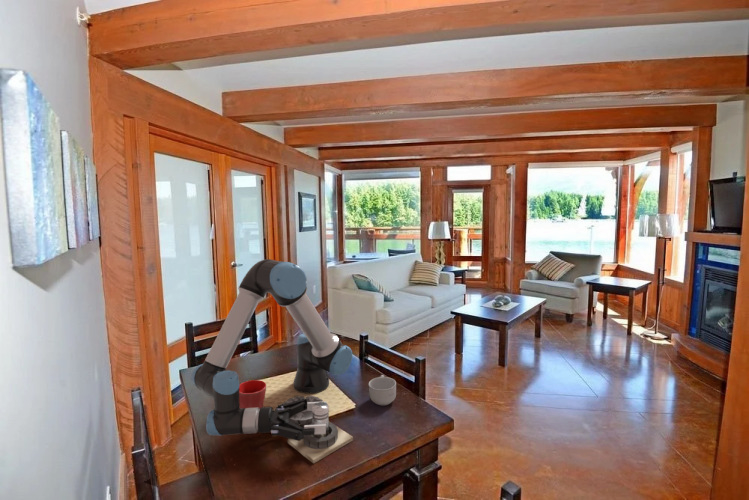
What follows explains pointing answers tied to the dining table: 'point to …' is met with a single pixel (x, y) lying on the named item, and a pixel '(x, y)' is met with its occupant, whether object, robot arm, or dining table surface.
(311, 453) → the ring board
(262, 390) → the flower pot
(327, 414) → the piston
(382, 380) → the teacup
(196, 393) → the dining table surface
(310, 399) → the brain slice
